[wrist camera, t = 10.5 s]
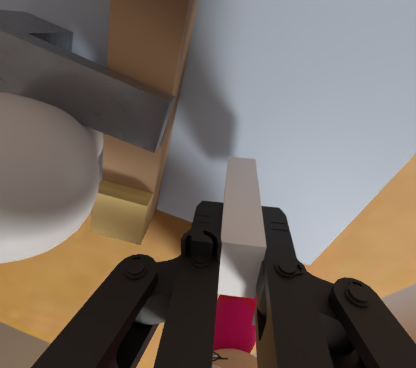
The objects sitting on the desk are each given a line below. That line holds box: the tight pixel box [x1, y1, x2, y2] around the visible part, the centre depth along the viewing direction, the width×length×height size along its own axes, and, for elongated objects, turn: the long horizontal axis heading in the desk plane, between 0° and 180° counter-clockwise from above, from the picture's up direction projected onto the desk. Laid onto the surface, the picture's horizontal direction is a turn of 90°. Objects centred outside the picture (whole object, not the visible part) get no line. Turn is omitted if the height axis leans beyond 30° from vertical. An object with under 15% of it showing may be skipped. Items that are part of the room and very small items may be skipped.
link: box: [91, 0, 199, 245], centre depth 12 cm, size 18×5×4 cm, turn 165°
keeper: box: [0, 10, 175, 153], centre depth 12 cm, size 9×2×6 cm, turn 69°
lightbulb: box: [0, 92, 104, 263], centre depth 11 cm, size 6×6×11 cm
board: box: [0, 0, 416, 266], centre depth 12 cm, size 24×18×7 cm
